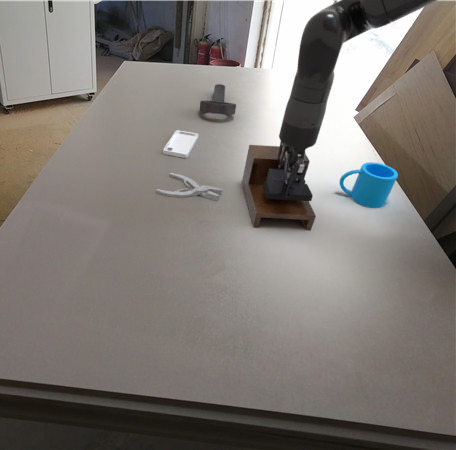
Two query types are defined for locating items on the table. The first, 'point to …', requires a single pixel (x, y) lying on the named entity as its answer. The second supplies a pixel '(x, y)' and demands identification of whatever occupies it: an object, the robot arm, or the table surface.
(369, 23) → the robot arm
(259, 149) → the wooden chair model
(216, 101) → the dark gray mallet
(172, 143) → the phone case
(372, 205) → the mug
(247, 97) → the table surface
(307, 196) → the dark block
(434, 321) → the table surface
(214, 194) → the pliers
